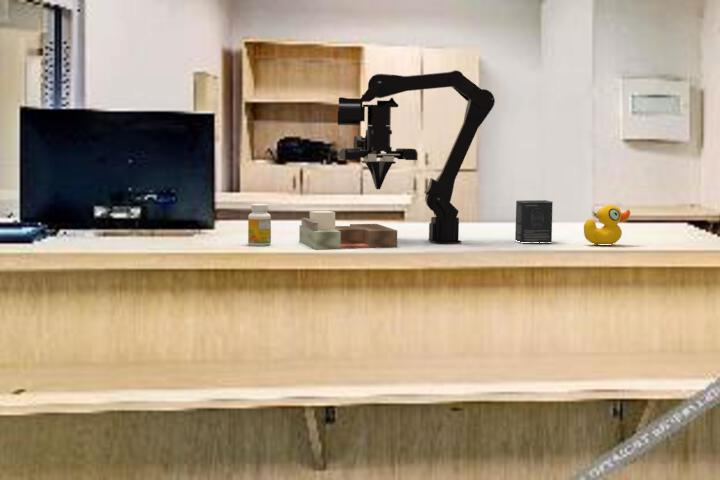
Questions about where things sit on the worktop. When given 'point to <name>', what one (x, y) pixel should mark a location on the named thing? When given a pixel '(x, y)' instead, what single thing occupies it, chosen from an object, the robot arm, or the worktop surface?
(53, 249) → the worktop surface
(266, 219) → the supplement bottle
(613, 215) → the duckling
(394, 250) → the worktop surface
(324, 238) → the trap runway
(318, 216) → the cream block
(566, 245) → the worktop surface
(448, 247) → the worktop surface
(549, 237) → the box
